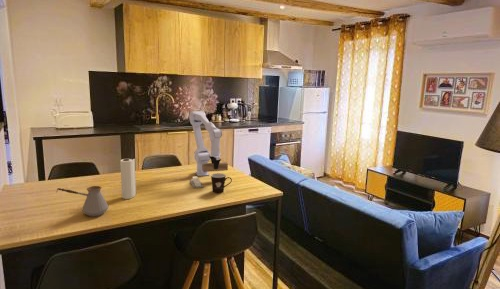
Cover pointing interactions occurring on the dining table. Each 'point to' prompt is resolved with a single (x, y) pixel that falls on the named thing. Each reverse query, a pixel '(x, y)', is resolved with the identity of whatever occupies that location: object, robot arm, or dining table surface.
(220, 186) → the coffee mug
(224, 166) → the walnut bar
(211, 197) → the dining table surface
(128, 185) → the paper towel roll
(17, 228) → the dining table surface
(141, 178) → the dining table surface
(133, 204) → the dining table surface
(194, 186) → the ridge
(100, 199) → the coffee pot
